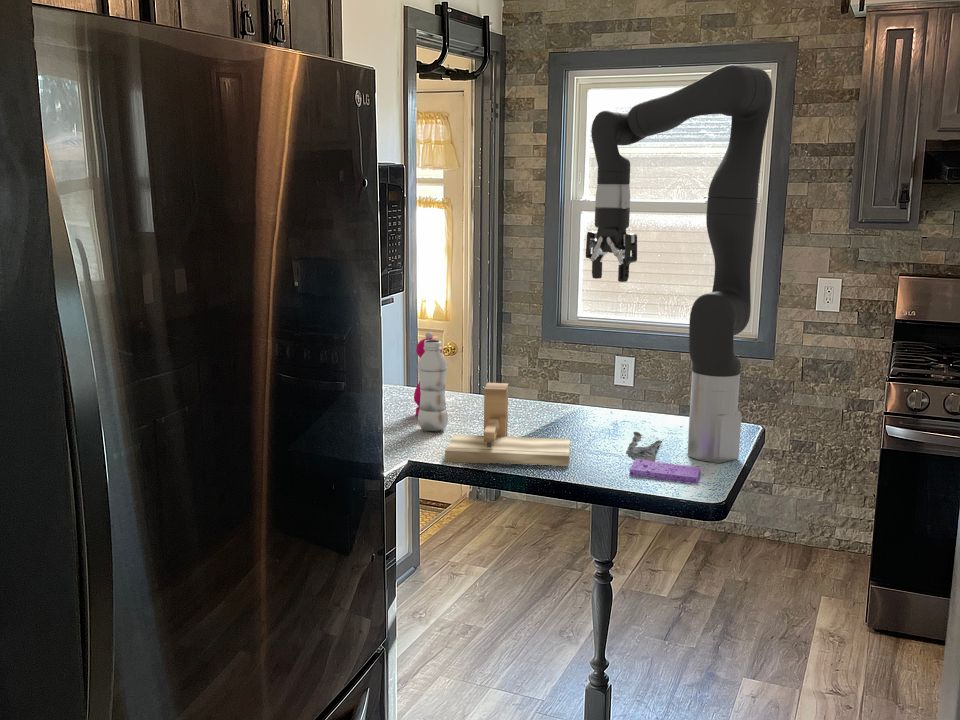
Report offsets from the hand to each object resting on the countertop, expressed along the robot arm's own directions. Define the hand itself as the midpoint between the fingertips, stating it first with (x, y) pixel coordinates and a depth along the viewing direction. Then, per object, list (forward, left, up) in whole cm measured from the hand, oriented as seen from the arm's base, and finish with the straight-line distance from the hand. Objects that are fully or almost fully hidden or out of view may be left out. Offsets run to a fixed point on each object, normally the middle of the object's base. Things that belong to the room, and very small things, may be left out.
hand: (609, 280), depth 193 cm
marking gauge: (-3, +33, -33) cm, 47 cm away
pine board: (-8, +33, -33) cm, 47 cm away
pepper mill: (+28, +30, -33) cm, 53 cm away
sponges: (-34, +15, -34) cm, 50 cm away
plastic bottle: (+16, +36, -33) cm, 52 cm away
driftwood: (-19, +6, -34) cm, 39 cm away
